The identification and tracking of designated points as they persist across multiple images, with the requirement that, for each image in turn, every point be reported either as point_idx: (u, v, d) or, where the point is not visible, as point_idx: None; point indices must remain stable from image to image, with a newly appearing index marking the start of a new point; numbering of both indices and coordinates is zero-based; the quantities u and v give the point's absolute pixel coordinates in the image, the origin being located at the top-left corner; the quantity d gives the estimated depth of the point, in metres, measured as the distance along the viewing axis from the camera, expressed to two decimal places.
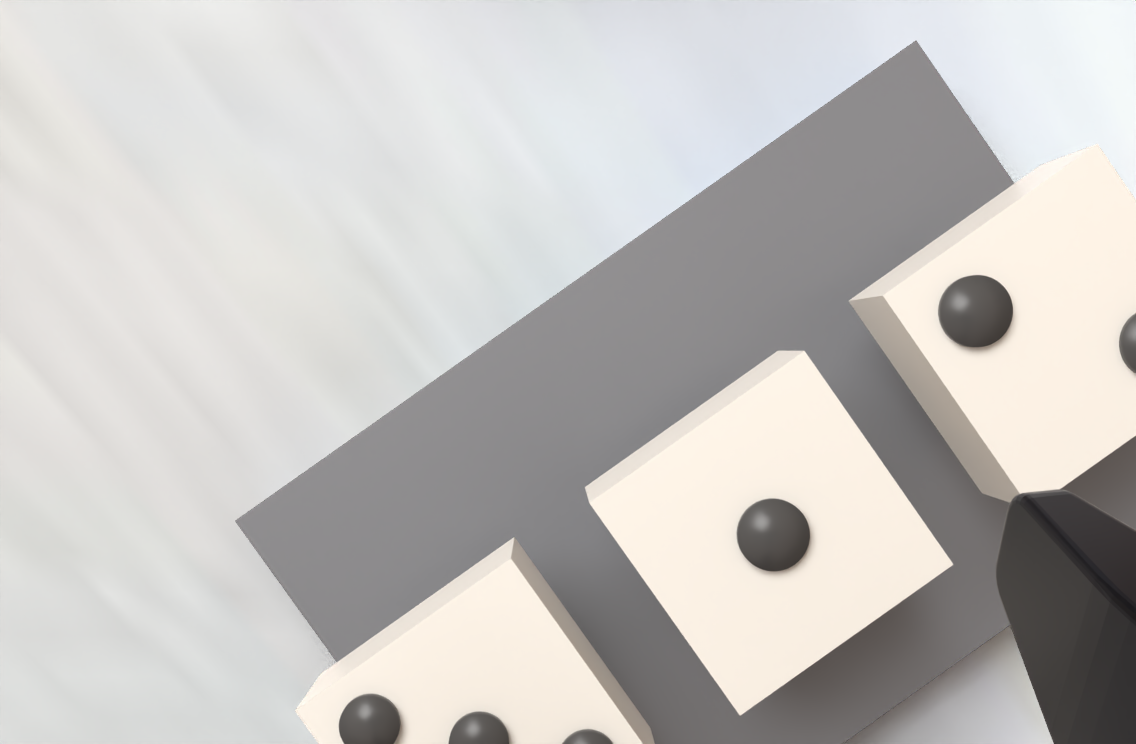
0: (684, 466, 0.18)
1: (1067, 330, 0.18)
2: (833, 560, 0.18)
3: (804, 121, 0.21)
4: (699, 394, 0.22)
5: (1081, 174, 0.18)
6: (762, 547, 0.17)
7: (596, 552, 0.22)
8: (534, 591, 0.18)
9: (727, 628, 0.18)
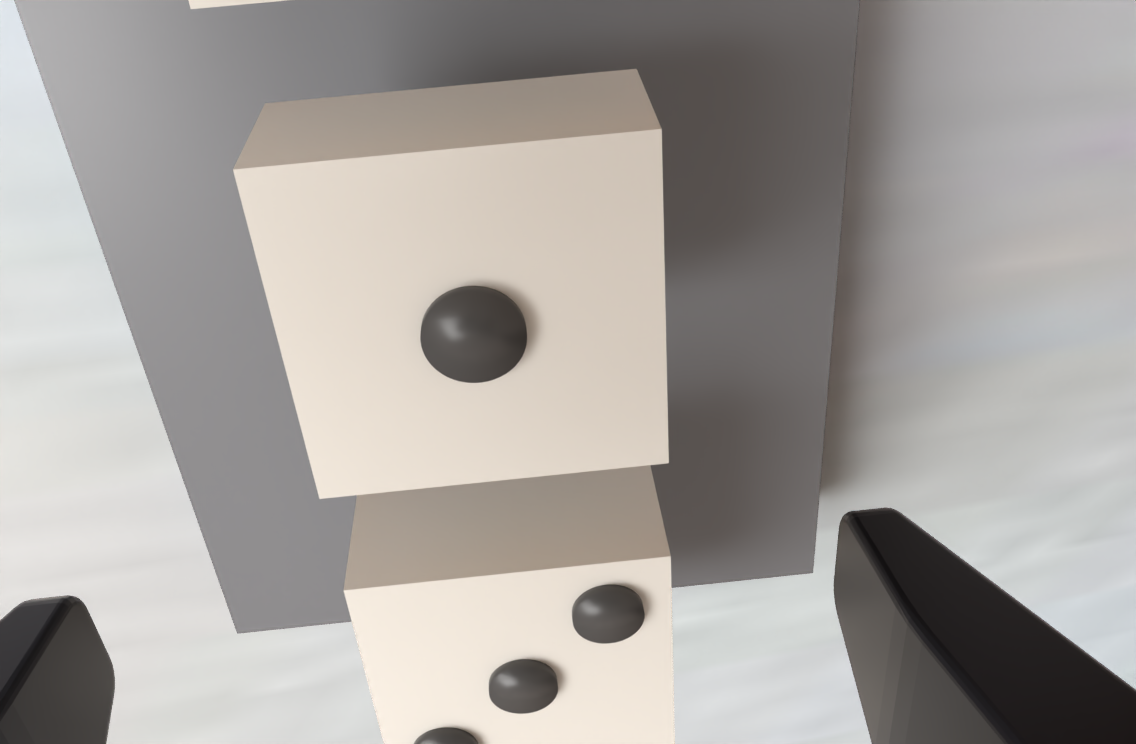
0: (327, 386, 0.12)
1: None
2: (554, 278, 0.12)
3: None
4: None
5: None
6: (481, 358, 0.12)
7: None
8: (395, 582, 0.14)
9: (559, 431, 0.13)
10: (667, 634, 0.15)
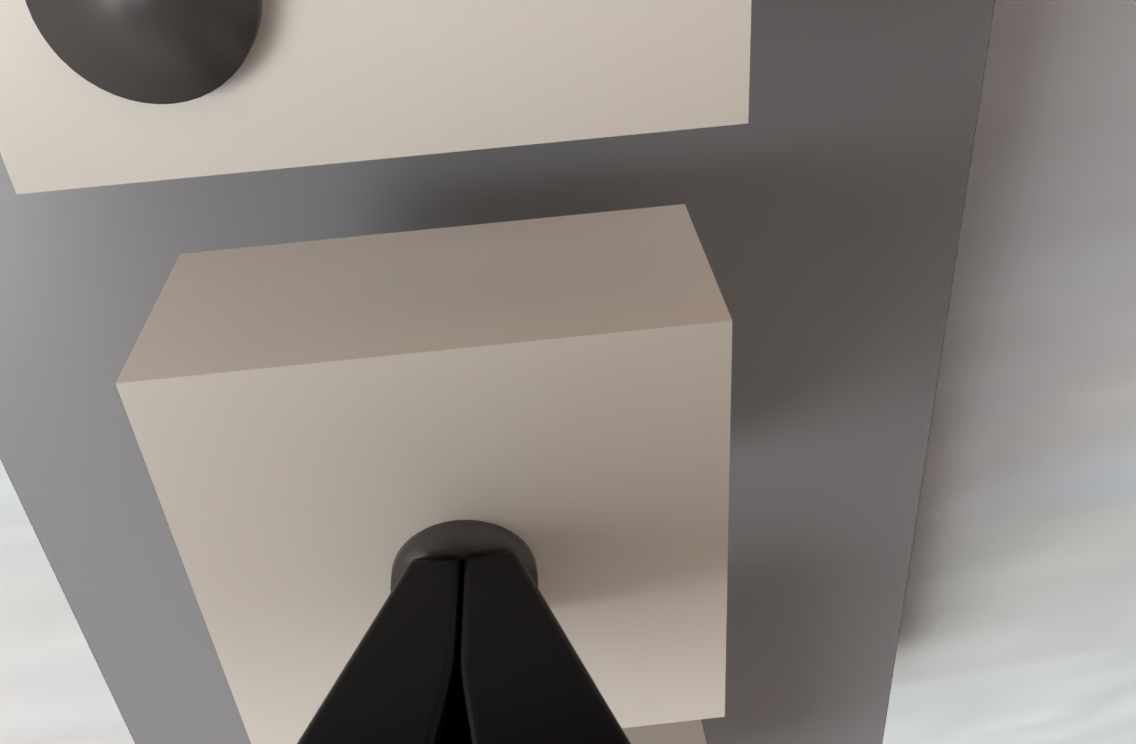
0: (265, 641, 0.09)
1: None
2: (576, 509, 0.08)
3: None
4: None
5: None
6: None
7: None
8: None
9: None
10: None
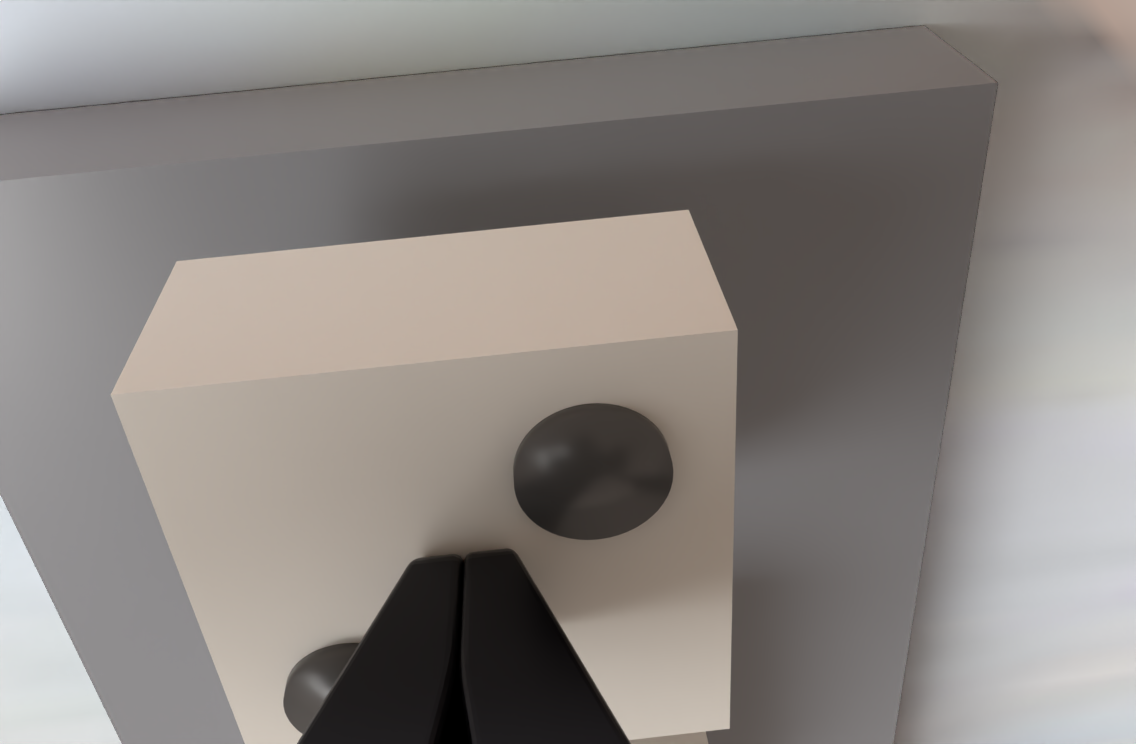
0: None
1: None
2: None
3: None
4: None
5: (169, 449, 0.08)
6: None
7: None
8: None
9: None
10: None
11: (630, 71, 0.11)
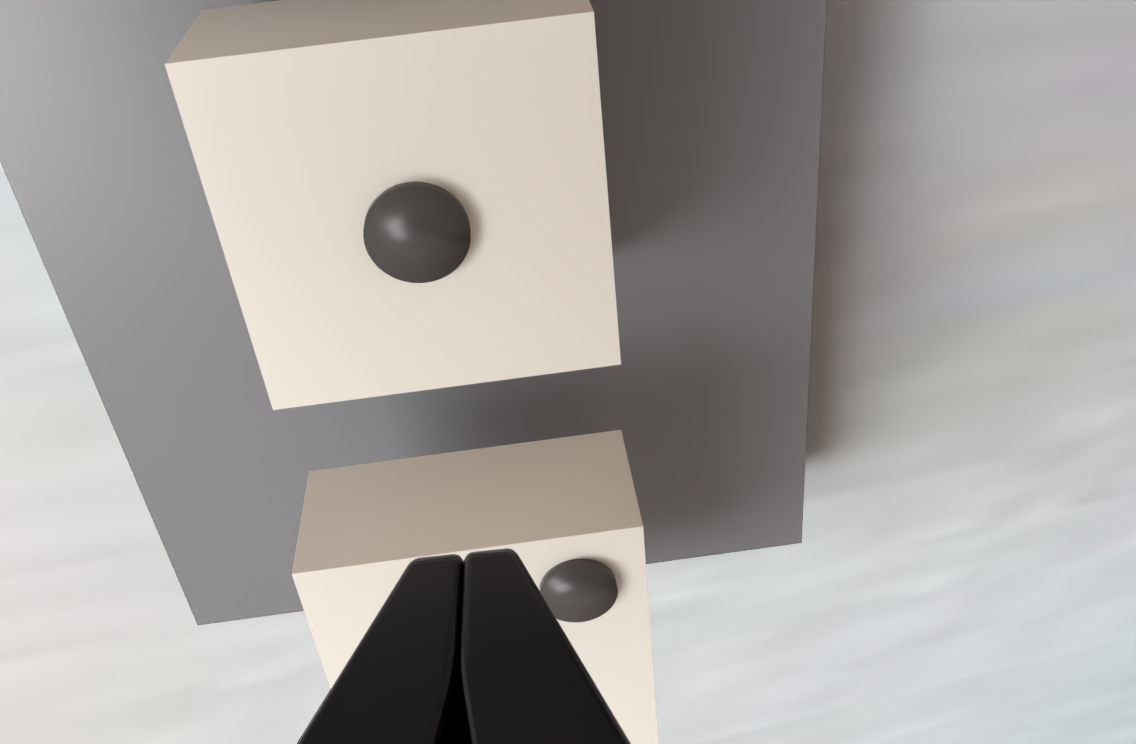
0: (274, 291, 0.12)
1: None
2: (495, 172, 0.12)
3: None
4: None
5: None
6: (426, 257, 0.12)
7: None
8: (347, 564, 0.13)
9: (509, 333, 0.13)
10: (643, 610, 0.14)
11: None
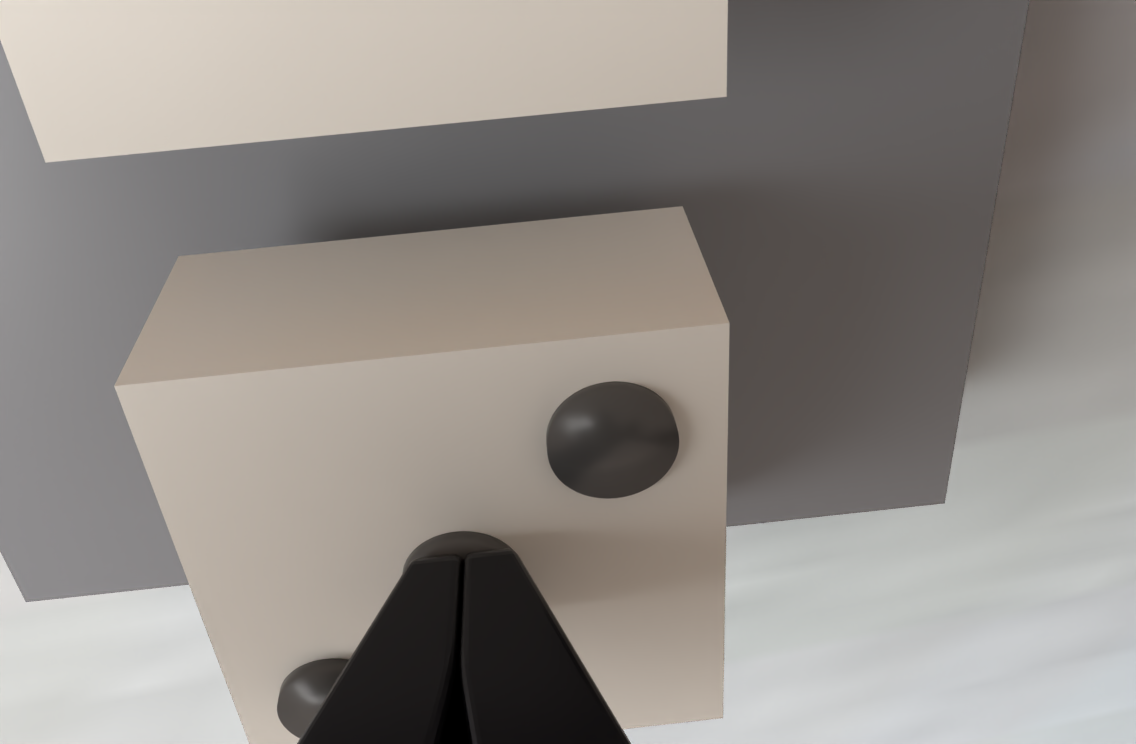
0: None
1: None
2: None
3: None
4: None
5: None
6: None
7: None
8: (213, 373, 0.08)
9: (512, 12, 0.06)
10: (717, 485, 0.08)
11: None
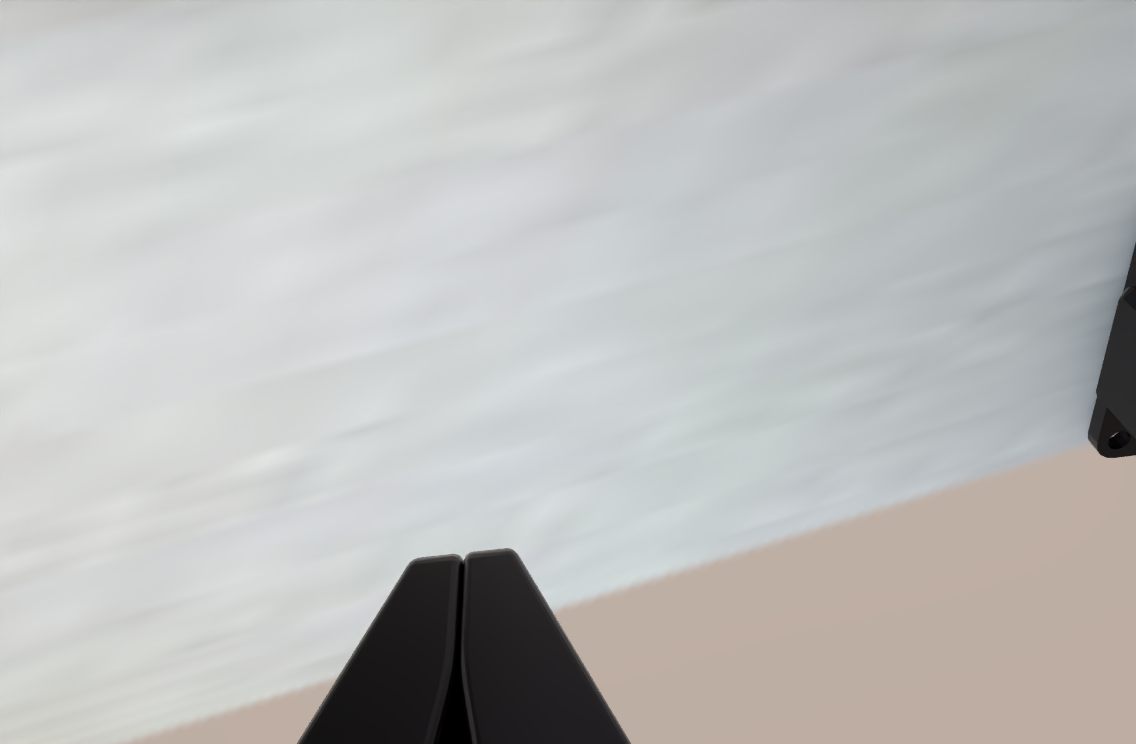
0: None
1: None
2: None
3: None
4: None
5: None
6: None
7: None
8: None
9: None
10: None
11: None
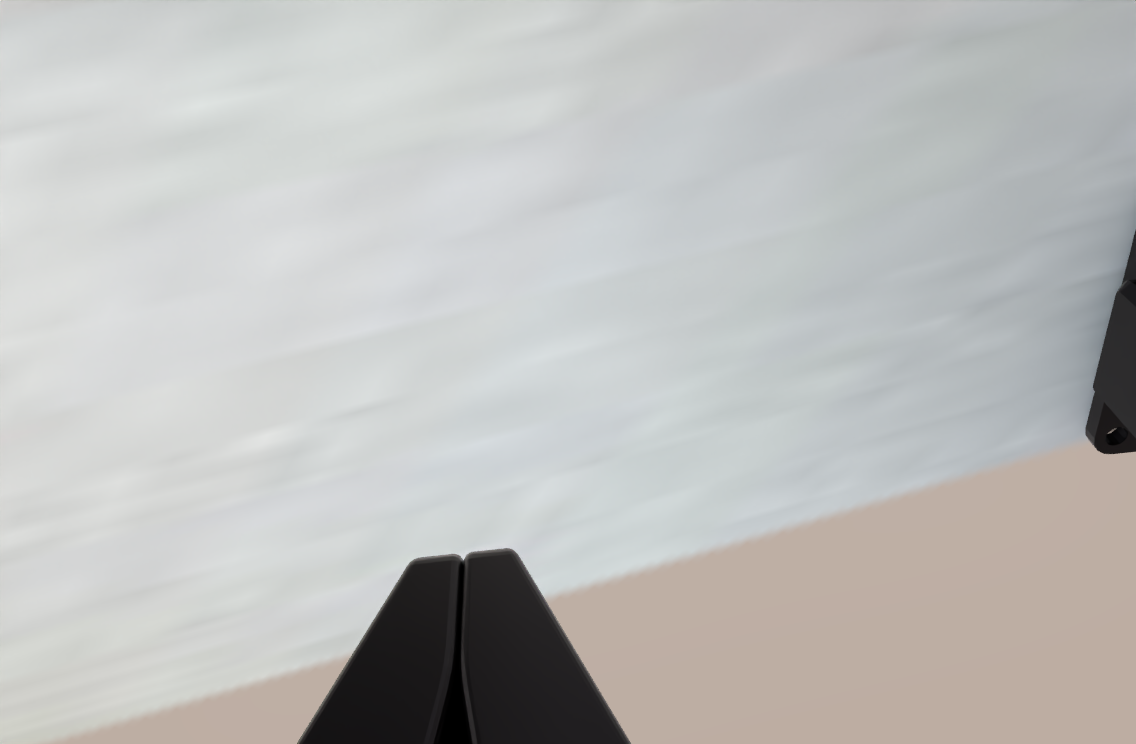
0: None
1: None
2: None
3: None
4: None
5: None
6: None
7: None
8: None
9: None
10: None
11: None
